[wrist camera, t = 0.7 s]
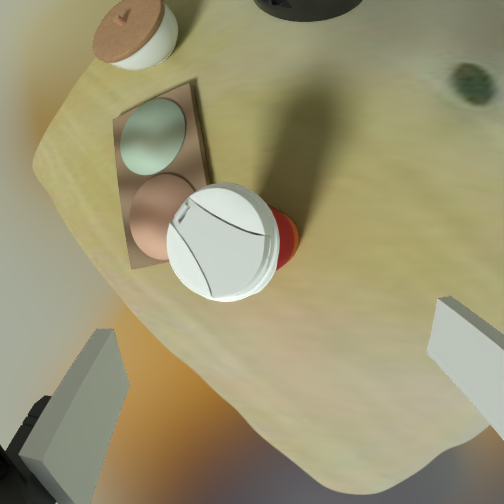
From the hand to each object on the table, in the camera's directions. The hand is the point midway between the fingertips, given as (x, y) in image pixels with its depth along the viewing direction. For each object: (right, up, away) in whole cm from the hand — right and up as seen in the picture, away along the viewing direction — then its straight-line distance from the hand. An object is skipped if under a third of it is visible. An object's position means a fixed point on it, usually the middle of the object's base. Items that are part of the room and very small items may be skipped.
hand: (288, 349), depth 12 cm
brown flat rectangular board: (-12, +13, +25) cm, 30 cm away
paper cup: (+1, +5, +21) cm, 22 cm away
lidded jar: (-14, +31, +25) cm, 42 cm away
